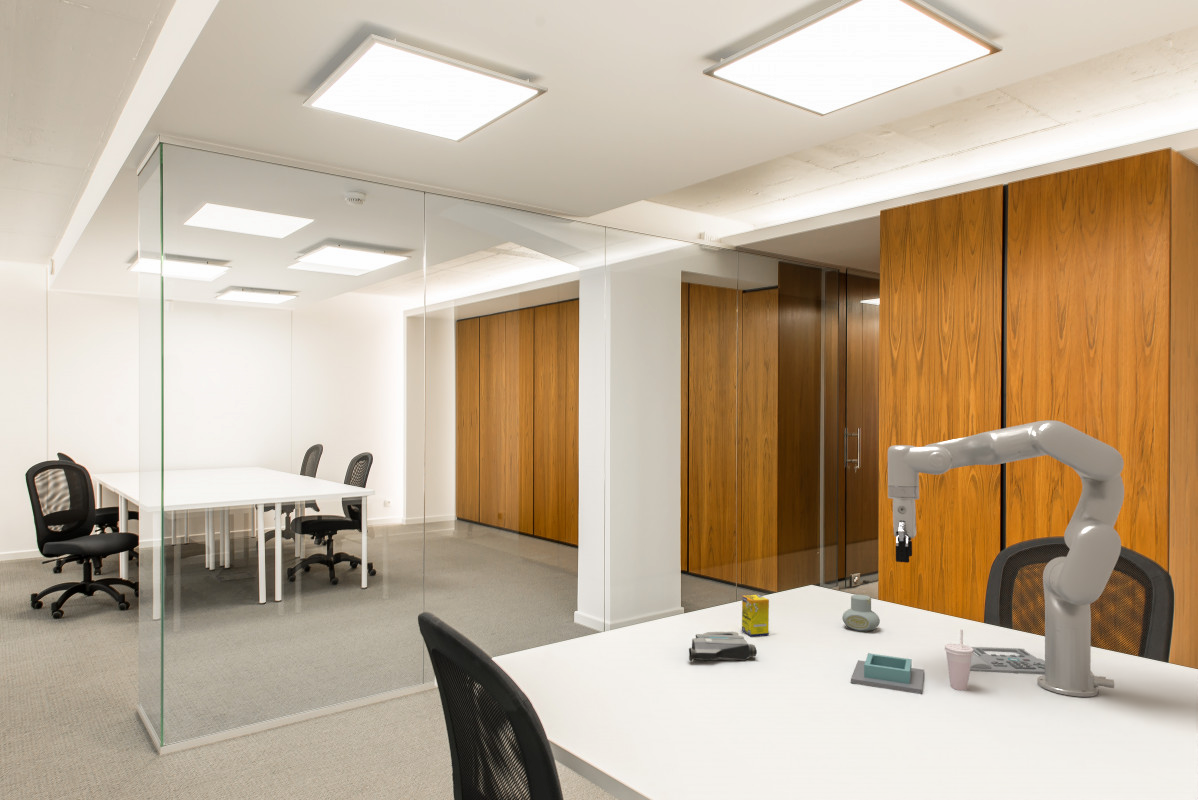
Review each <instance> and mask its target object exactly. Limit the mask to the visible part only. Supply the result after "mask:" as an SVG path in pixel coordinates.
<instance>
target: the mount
mask: <svg viewBox="0 0 1198 800" xmlns="http://www.w3.org/2000/svg"><path fill="white" fill-rule="evenodd" d="M865 658H866V659H865V660H857V662H856V664H855V667H854V669H853V672H852V675H851V678H850V684H857V685H862V686H863V685H864V686H868V687H869V686H870V687H875V688H882V689H888V690H894V691H902V692H907V693H915V694H920V695H922V694H923V685H924V684H923V683H924V675H925V669H922V668H915V667H913V666H912V661H913V660H912V659H911V658H905V657H897V656H889V655H884V654H877V653H868V654H867V655H866V657H865Z"/></svg>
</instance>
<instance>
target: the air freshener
mask: <svg viewBox="0 0 1198 800" xmlns="http://www.w3.org/2000/svg"><path fill="white" fill-rule="evenodd" d="M841 617H842V618H841V619H842V621H843V624H845V626H846V627H848V628H850V629H851V630H853V631H855V632H860V633H861V632H862V633H863V632H869V631H872V630H875V629H877V628H878V627H879V625H880V623H881V622H880V621H881V620H880V616H879V615H878V613H876V612H874V611H873V610H872V598H871V597H870V596H869V595H865V594H853V595H851V596H850V608H848V609H847V610H845V611H844V613H843V614H842V615H841Z"/></svg>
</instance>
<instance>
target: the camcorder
mask: <svg viewBox="0 0 1198 800" xmlns="http://www.w3.org/2000/svg"><path fill="white" fill-rule="evenodd" d="M691 641H692V642H691V647H689V648H688V652H689V653H688V655H689V656H688V659H689V661H690V662H692V661H693V660H702V659H703V661H706V660H707V661H708V660H716V661H717V660H722V661H723V660H725V661H727V660H728V661H731V660H733V661H734V660H735V661H746V660H748V659H749V658H754V657H757V654H758V653H757V652H758V651H757V647H756V646H755V644H752V643H748V641H747V640H746V639H745V637H744V636H743V635H739V633H738V632H737V631H708V632H704V633H696V634H695V638H692V639H691Z"/></svg>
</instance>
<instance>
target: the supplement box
mask: <svg viewBox="0 0 1198 800" xmlns="http://www.w3.org/2000/svg"><path fill="white" fill-rule="evenodd" d="M741 597H742V599H741V600H742V601H741V616H742V617H741V632H742V633H744V634H746V635H748V636H749V637H750V638H755V637H767V636H769V620H770V618H769V616H770V615H769V613H770V611H769V610H770V609H769V607H770V599H768V598H765V597H764V596H762V595H761V594H751V595H750V594H749V595H748V594H747V595H746V594H745V595H741Z"/></svg>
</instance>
